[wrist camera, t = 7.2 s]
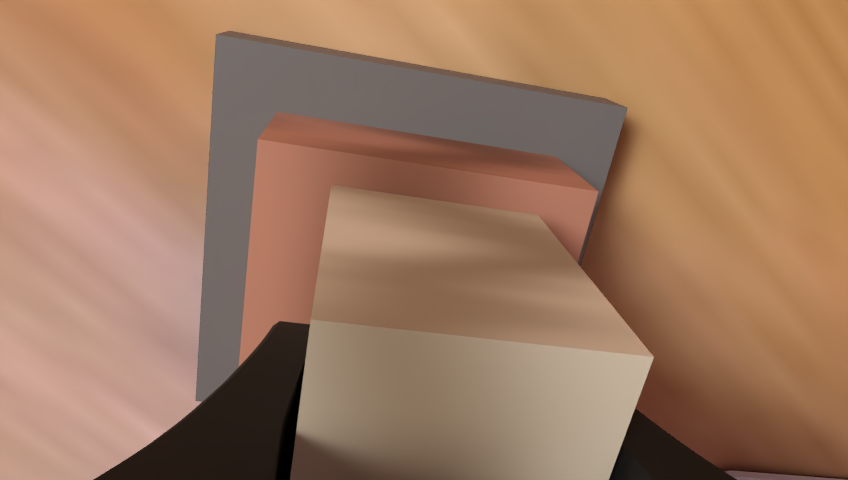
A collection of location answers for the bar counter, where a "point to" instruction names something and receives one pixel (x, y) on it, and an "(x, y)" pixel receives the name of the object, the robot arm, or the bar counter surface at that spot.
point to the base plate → (369, 106)
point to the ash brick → (459, 349)
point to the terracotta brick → (382, 172)
